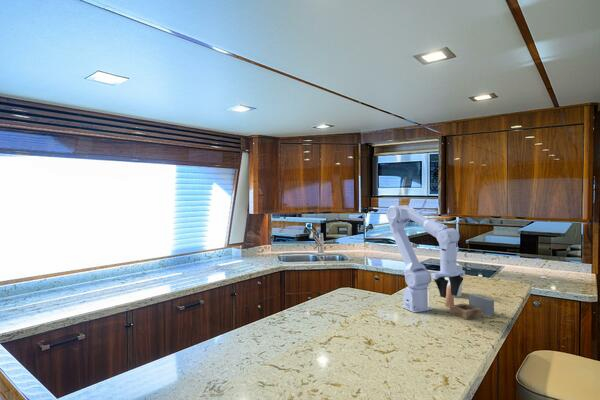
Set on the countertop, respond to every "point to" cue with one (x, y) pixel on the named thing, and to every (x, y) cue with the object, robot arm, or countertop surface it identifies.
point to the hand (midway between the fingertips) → (448, 296)
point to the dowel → (449, 297)
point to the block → (465, 311)
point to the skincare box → (459, 267)
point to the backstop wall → (482, 304)
